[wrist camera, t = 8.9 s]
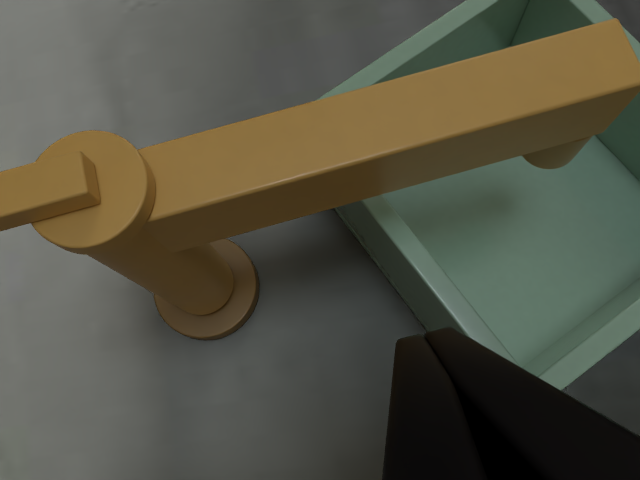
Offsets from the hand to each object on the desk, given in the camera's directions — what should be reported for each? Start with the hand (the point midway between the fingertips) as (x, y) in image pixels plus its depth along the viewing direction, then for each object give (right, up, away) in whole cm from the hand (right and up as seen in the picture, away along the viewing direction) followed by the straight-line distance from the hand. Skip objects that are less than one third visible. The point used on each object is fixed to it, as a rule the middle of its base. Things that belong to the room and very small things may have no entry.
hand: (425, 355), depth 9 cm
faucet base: (-6, 0, +14) cm, 16 cm away
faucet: (-1, +1, +13) cm, 14 cm away
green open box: (+6, +3, +15) cm, 16 cm away
